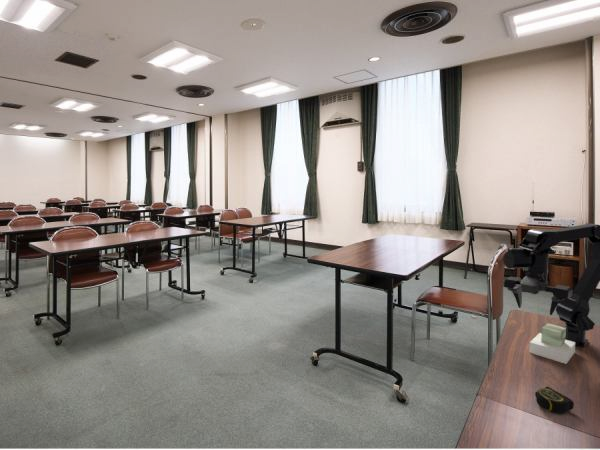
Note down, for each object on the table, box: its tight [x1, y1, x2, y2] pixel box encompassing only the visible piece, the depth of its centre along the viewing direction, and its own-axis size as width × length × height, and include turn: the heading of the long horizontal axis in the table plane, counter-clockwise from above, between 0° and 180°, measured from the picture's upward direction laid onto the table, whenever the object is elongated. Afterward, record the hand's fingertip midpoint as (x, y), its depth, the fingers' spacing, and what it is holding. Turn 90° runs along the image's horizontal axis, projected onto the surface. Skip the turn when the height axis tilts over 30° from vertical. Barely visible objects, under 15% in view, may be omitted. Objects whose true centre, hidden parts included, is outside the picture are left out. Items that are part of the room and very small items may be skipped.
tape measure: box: [534, 386, 575, 415], centre depth 88 cm, size 7×7×4 cm
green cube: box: [541, 322, 566, 347], centre depth 113 cm, size 5×5×5 cm
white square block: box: [528, 332, 576, 365], centre depth 114 cm, size 10×10×4 cm
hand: (534, 311), depth 118 cm, fingers open, 9 cm apart
